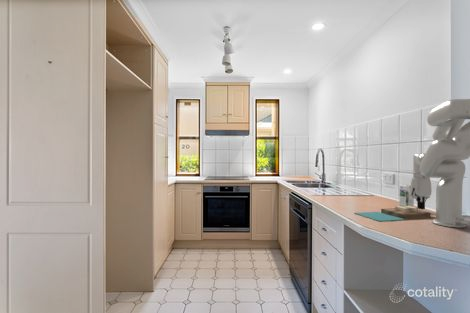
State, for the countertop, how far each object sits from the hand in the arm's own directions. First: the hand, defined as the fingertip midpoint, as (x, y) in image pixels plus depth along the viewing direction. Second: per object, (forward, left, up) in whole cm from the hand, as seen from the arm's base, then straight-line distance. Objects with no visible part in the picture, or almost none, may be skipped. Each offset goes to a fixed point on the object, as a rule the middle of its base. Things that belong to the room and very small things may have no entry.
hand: (421, 208), depth 144 cm
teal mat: (0, +28, -3) cm, 28 cm away
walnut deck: (0, +11, -3) cm, 11 cm away
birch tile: (0, +10, -1) cm, 10 cm away
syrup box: (+16, -7, -3) cm, 18 cm away
